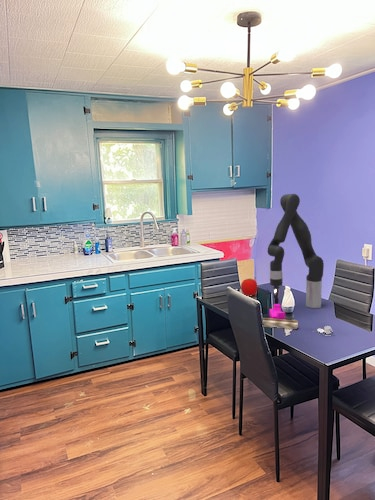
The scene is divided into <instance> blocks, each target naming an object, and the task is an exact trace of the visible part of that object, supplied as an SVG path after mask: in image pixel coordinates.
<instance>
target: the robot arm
mask: <svg viewBox="0 0 375 500" xmlns="http://www.w3.org/2000/svg"><path fill="white" fill-rule="evenodd" d="M300 202H301V200H300V197H299V195H298V194H296V193H287V194H283V195H282V196H281V197H280V200H279V203H280V206H281V208H282V210H283V215H282V217H281V219H280V221H279V223H278V224H277V226H276V228H275V231H274V234H273V235H274V236H273V238H272V239H271V240H270V243H269V245H268V247H267V255H269V256H270V257H274V259H273V260H271V261H270V263H269V266H270V267H269V269H270V270H269V284H270V285H271V286H273V288H272V292H273V293H272V294H273V299H274V304H280V303H279V298H280V293H281V292H280V290H281V288H280V286H282V285H284V284H283V262H284V261H283V260H284V258H285V249H284V248H283V246H281V244H282V243H284V242H285V241H286V239H287V234H288V231H289V229H290V227H291V230H292V232H293V235H294V238H295V239H296V242H297V244H298V246H299V248H300V250H301V253H302V256H303V261H304V264H305V266H307V268H308V274H307V275H306V282H305V283H306V284H305V285H306V288H305V295H306V296H305V306H306V307H308V308H312V309H317V308H318V309H319V308H320V309H321V308H322V282H323V281H322V280H323V277H324V265H325V264H324V260H323V258H322V257H320V256H319V255H317V254H316V252H315V249H314V248H313V244H312V234H311V232H310V229H309V227H308V226H309V225H308V224H307V223H306V222H305V221H304V219H303V218H302V217H301V216H300V215H299V213H298V211H297V210H298V207H299V205H300V204H301V203H300Z"/></svg>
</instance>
